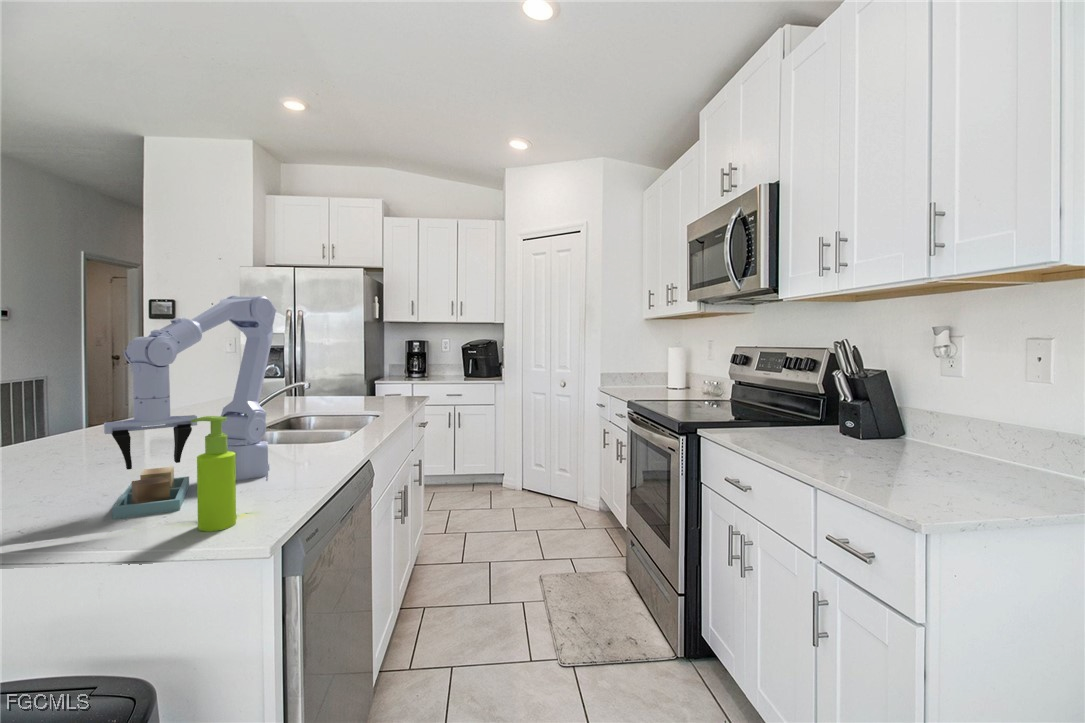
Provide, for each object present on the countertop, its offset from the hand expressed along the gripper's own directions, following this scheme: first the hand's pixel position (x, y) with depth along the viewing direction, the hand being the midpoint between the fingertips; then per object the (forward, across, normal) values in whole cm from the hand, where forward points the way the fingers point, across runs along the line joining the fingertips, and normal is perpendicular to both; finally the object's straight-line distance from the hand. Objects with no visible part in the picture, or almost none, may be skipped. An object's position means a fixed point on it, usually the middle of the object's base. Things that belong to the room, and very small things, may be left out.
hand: (153, 465), depth 101 cm
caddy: (+8, 0, -1) cm, 9 cm away
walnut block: (+8, +1, +3) cm, 8 cm away
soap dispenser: (+9, -6, +19) cm, 22 cm away
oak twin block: (+8, -1, -6) cm, 9 cm away
